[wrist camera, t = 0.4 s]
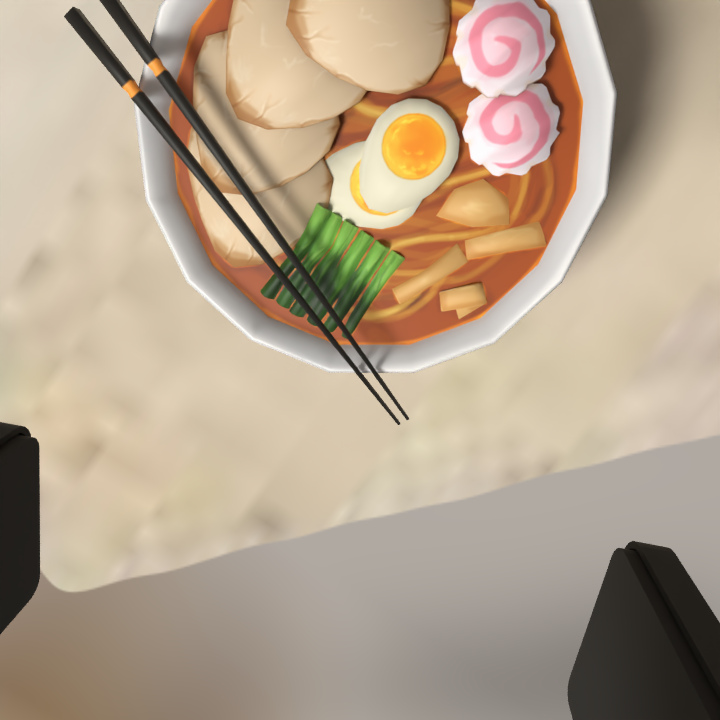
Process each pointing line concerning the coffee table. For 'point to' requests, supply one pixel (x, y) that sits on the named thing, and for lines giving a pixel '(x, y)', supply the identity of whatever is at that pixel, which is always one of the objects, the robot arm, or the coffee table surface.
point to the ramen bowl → (371, 165)
